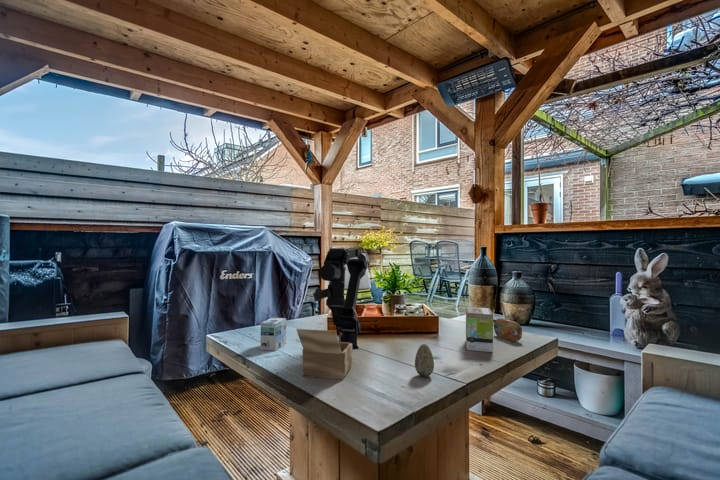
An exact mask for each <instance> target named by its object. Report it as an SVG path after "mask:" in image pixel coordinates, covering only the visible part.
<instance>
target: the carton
mask: <svg viewBox="0 0 720 480" xmlns="http://www.w3.org/2000/svg"><path fill="white" fill-rule="evenodd" d="M339 345H340V349H341V354H334V353H318V352H304V350H303V349H302V354H301V355H302V358H301V359H302V361H301V362H302V363H301V366H302V370H301V371H302V373H303V375H302V377H308V378H322V379H333V380H335V379H336V380H344V379H345V377H346V376H347V374H348V373H349V371H350V370H351V369H352V366H353V349H352V343H350V342H339Z"/></svg>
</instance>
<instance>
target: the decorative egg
mask: <svg viewBox="0 0 720 480" xmlns="http://www.w3.org/2000/svg"><path fill="white" fill-rule="evenodd" d="M414 358H415V359H414V367H415V371H416V372H417V374H418V375H419V376H421V377H423V378H427V377H429V376H431V375H432V374H433V372H434V370H435V361H434V360H435V359H434V356H433V352H432V350H431V348H430V347H429V346H428V344H426V343H423V344H420V346H418V349H417V351H416V354H415V357H414Z"/></svg>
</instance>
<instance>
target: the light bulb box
mask: <svg viewBox="0 0 720 480" xmlns="http://www.w3.org/2000/svg"><path fill="white" fill-rule="evenodd" d="M286 344H287V318H285V317H270V318H269V319H266V320H264V321H262V322H260V350H263V351H274V352H275V351H277V350H279V349H281V348H282V347H283V346H286Z"/></svg>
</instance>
